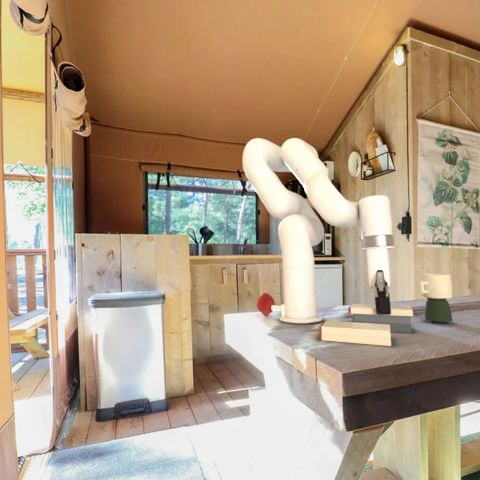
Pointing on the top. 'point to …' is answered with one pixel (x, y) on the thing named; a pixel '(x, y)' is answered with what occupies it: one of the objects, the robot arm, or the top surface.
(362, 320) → the grey rectangular block
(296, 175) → the robot arm
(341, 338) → the cream rectangular block
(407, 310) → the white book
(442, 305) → the character mug
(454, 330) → the top surface
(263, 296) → the onion
